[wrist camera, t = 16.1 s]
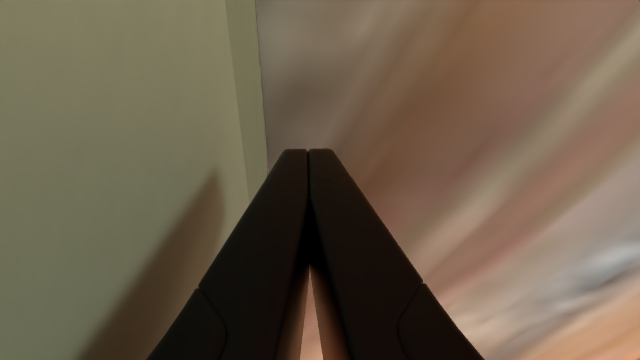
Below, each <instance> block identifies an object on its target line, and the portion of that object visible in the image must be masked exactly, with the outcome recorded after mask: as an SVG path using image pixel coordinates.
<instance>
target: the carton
mask: <svg viewBox="0 0 640 360" xmlns="http://www.w3.org/2000/svg"><path fill="white" fill-rule="evenodd" d="M225 6H226V14H227V23H228V31H229V39H230V47H231V56H232V64H233V72H234V80H235V89H236V97H237V105H238V113H239V122H240V130H241V138H242V146H243V155H244V163H245V171H246V179H247V188H248V196H249V204H250V203H251V201H252V200H253V198H254V196H255V195H256V193H257V192H258V190H259V189H260V187H261V185H262V184H263V182H264V181H265V179H266V178H267V169H268V159H267V147H266V134H265V121H264V109H263V96H262V84H261V71H260V58H259V46H258V33H257V20H256V8H255V0H225Z"/></svg>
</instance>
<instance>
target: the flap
mask: <svg viewBox="0 0 640 360" xmlns="http://www.w3.org/2000/svg"><path fill="white" fill-rule="evenodd" d="M248 206H249V196H248V188H247V179H246V171H245V163H244V155H243V146H242V138H241V130H240V122H239V113H238V105H237V97H236V89H235V80H234V72H233V64H232V56H231V47H230V39H229V31H228V23H227V14H226V6H225V0H0V360H146V358H147V357H148V356H149V354H150V353H151V352H152V351H153V349H154V348H155V347H156V345H157V344H158V343H159V342H160V340H161V339H162V338H163V336H164V335H165V334H166V332H167V331H168V329H169V328H170V326H171V325H172V323H173V322H174V320H175V319H176V318H177V316H178V315H179V313H180V312H181V310H182V309H183V307H184V306H185V304H186V303H187V301H188V299H189V298H190V296H191V295H192V293H193V292H194V290H195V289H196V288H198V284H199V283H200V281H201V279H202V278H203V276H204V275H205V273H206V272H207V270H208V269H209V267H210V265H211V264H212V262H213V261H214V259H215V258H216V256H217V254H218V253H219V251H220V250H221V248H222V247H223V245H224V243H225V242H226V240H227V239H228V237H229V236H230V234H231V232H232V231H233V229H234V228H235V226H236V225H237V223H238V222H239V220H240V218H241V217H242V215H243V214H244V212H245V211H246V209H247V207H248Z"/></svg>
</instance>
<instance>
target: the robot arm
mask: <svg viewBox="0 0 640 360" xmlns="http://www.w3.org/2000/svg"><path fill="white" fill-rule="evenodd" d="M309 271H310V272H311V280H312V287H313V294H314V300H315V307H316V314H317V320H318V327H319V333H320V340H321V347H322V353H323V360H485V359H484V358H483V357H482V356H481V355H480V354H479V352H478V351H477V350H476V349H475V348H474V346H473V345H472V344H471V343H470V342H469V341H468V339H467V338H466V337H465V336H464V335H463V333H462V332H461V331H460V330H459V329H458V327H457V326H456V325H455V323H454V322H453V321H452V319H451V318H450V317H449V315H448V314H447V313H446V311H445V310H444V309H443V307H442V306H441V305H440V303H439V302H438V301H437V299H436V298H435V296H434V295H433V293H432V292H431V290H430V289H429V288H428V286H427V285H426V284H425V283H423V279H422V278H421V276H420V275H419V274H418V272H417V271H416V269H415V268H414V266H413V265H412V264H411V262H410V261H409V259H408V258H407V256H406V255H405V254H404V252H403V251H402V249H401V248H400V246H399V245H398V243H397V242H396V241H395V239H394V238H393V236H392V235H391V233H390V232H389V231H388V229H387V228H386V226H385V225H384V223H383V222H382V221H381V219H380V218H379V216H378V215H377V213H376V212H375V210H374V209H373V208H372V206H371V205H370V203H369V202H368V200H367V199H366V198H365V196H364V195H363V193H362V192H361V190H360V189H359V188H358V186H357V185H356V183H355V182H354V180H353V179H352V177H351V176H350V175H349V173H348V172H347V170H346V169H345V167H344V166H343V165H342V163H341V162H340V160H339V159H338V157H337V156H336V154H335V153H334V152H333V151H332V150H331V149H328V148H327V149H310V150H309V151H307V150H306V149H286V150H284V151H283V153H282V154H281V156H280V157H279V159H278V160H277V162H276V164H275V165H274V167H273V168H272V170H271V171H270V173H269V174H268V176H267V178H266V179H265V181H264V182H263V184H262V185H261V187H260V189H259V190H258V192H257V193H256V195H255V196H254V198H253V200H252V201H251V203H250V204H249V206H248V207H247V209H246V211H245V212H244V214H243V215H242V217H241V218H240V220H239V222H238V223H237V225H236V226H235V228H234V229H233V231H232V232H231V234H230V236H229V237H228V239H227V240H226V242H225V243H224V245H223V247H222V248H221V250H220V251H219V253H218V254H217V256H216V258H215V259H214V261H213V262H212V264H211V265H210V267H209V269H208V270H207V272H206V273H205V275H204V276H203V278H202V279H201V281H200V283H199V284H198V288H196V289H195V290H194V292H193V293H192V295H191V296H190V298H189V299H188V301H187V303H186V304H185V306H184V307H183V309H182V310H181V312H180V313H179V315H178V316H177V318H176V319H175V320H174V322H173V323H172V325H171V326H170V328H169V329H168V331H167V332H166V334H165V335H164V336H163V338H162V339H161V340H160V342H159V343H158V344H157V345H156V347H155V348H154V349H153V351H152V352H151V353H150V354H149V356H148V357H147V358H146V360H300V353H301V344H302V335H303V327H304V318H305V309H306V300H307V292H308V283H309Z"/></svg>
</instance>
